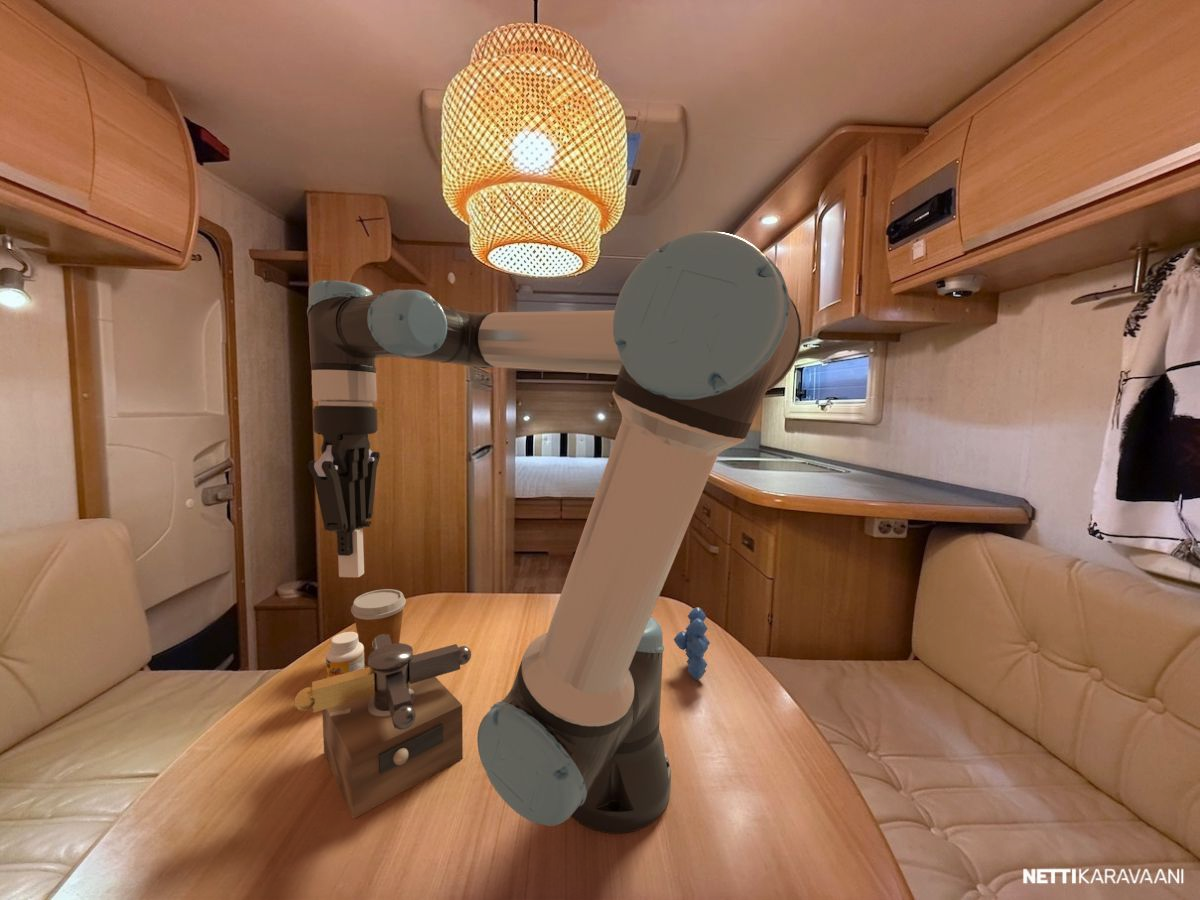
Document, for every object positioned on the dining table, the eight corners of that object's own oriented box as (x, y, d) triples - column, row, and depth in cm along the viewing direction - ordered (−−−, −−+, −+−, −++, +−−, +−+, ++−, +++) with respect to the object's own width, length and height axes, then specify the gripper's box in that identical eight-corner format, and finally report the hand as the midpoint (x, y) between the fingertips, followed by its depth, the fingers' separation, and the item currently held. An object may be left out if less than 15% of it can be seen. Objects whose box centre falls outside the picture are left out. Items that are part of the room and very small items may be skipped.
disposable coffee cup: (392, 672, 83) (391, 610, 82) (341, 670, 83) (339, 608, 82) (415, 645, 93) (414, 588, 91) (369, 643, 93) (367, 587, 92)
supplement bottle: (320, 697, 76) (318, 639, 75) (352, 680, 80) (350, 625, 79) (340, 709, 73) (337, 649, 72) (372, 691, 78) (370, 634, 77)
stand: (467, 764, 62) (467, 708, 62) (355, 829, 53) (353, 763, 52) (421, 707, 74) (420, 659, 73) (322, 752, 64) (319, 697, 63)
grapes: (672, 652, 92) (674, 596, 91) (705, 655, 91) (708, 598, 90) (672, 687, 81) (675, 623, 80) (711, 691, 80) (714, 626, 79)
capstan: (451, 643, 78) (451, 605, 78) (496, 719, 60) (496, 670, 59) (297, 683, 66) (295, 639, 65) (293, 794, 48) (291, 734, 47)
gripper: (346, 404, 67) (351, 558, 69) (282, 403, 54) (292, 593, 56) (396, 405, 67) (400, 560, 69) (344, 404, 54) (351, 595, 56)
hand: (351, 575), depth 63 cm, fingers closed
